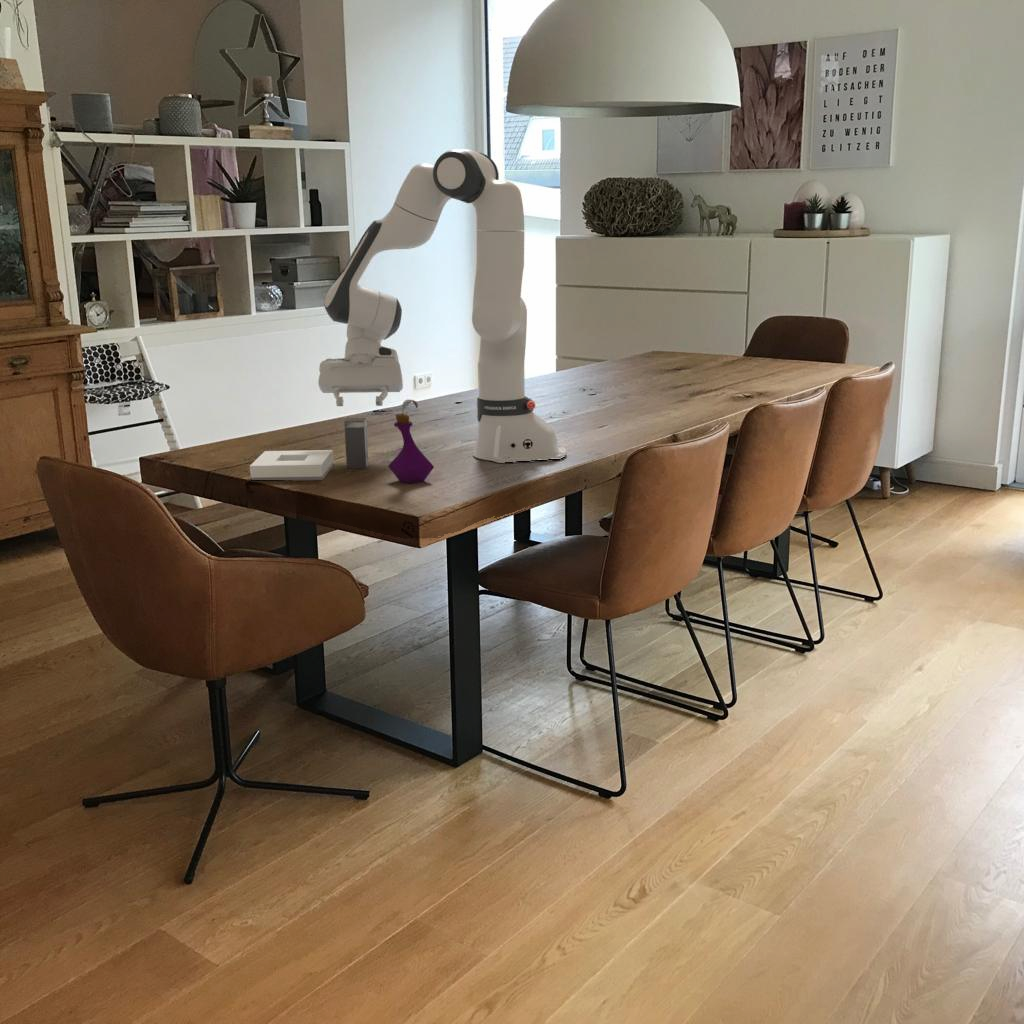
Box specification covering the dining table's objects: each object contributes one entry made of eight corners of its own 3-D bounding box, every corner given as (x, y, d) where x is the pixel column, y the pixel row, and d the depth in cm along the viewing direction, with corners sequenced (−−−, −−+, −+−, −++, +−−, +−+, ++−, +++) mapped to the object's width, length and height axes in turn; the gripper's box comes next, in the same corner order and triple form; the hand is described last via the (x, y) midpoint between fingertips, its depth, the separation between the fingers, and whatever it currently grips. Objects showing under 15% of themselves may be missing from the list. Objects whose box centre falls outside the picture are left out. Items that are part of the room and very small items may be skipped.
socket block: (333, 464, 270) (332, 449, 269) (322, 480, 254) (321, 464, 253) (265, 465, 270) (264, 451, 269) (250, 481, 254) (249, 465, 253)
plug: (368, 463, 270) (366, 417, 267) (366, 467, 266) (363, 421, 263) (349, 464, 270) (347, 418, 267) (346, 468, 266) (344, 421, 263)
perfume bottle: (405, 486, 247) (402, 404, 242) (388, 480, 253) (384, 399, 248) (434, 481, 251) (432, 400, 247) (417, 475, 257) (414, 396, 253)
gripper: (318, 351, 277) (313, 397, 270) (402, 350, 277) (400, 396, 270) (322, 366, 282) (317, 412, 275) (404, 365, 282) (402, 411, 275)
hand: (359, 404), depth 273 cm, fingers open, 8 cm apart
